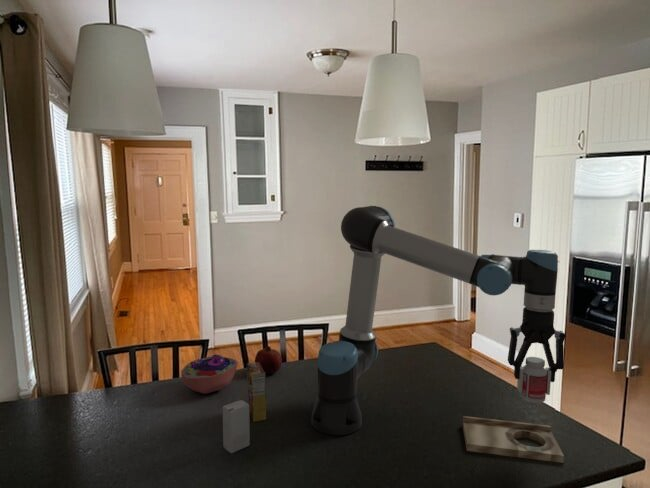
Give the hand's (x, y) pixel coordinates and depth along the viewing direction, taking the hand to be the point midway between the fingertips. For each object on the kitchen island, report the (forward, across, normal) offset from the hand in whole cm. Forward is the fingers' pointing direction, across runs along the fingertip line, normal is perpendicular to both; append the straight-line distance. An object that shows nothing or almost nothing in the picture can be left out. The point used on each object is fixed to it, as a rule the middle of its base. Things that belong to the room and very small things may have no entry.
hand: (533, 391), depth 123 cm
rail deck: (+16, -5, 0) cm, 17 cm away
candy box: (+16, -79, -1) cm, 81 cm away
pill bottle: (+2, 0, 0) cm, 2 cm away
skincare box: (+16, -78, -19) cm, 82 cm away
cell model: (+16, -101, +12) cm, 103 cm away
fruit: (+16, -86, +30) cm, 93 cm away
